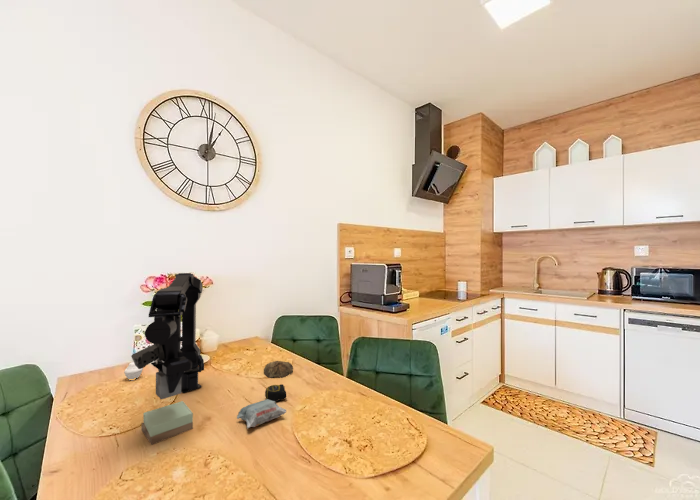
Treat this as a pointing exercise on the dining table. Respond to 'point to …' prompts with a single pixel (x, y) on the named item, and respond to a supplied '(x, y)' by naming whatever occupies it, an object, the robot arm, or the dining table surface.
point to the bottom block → (165, 433)
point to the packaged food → (260, 412)
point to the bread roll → (278, 369)
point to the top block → (167, 418)
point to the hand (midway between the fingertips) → (168, 389)
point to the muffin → (132, 371)
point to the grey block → (165, 387)
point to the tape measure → (275, 392)
